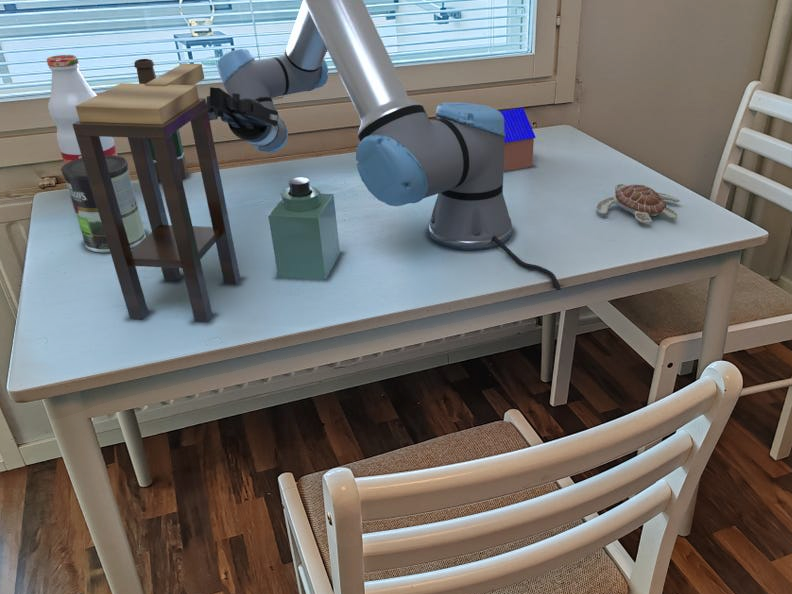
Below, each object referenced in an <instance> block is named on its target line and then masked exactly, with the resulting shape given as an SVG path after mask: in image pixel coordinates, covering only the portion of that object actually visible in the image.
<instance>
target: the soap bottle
mask: <svg viewBox="0 0 792 594" xmlns="http://www.w3.org/2000/svg"><path fill="white" fill-rule="evenodd" d="M310 192H311V194H310V195H308V196H305V197H293V196H291V195H290V188H289V187H288V188H285V189H282V191H281V192H280V201H279V202H278V203H277V204H276V205H275V206H274V208H273V209H272V210H271V211H270V212H269V214H268V216H267V217H268V222H269V229H270V235H271V242H272V247H273V254H274V260H275V267H276V271H277V278H278V279H297V280H298V279H299V280H320V281H326V280H327V278H328V277H329V274H331V271H332V269H333V267H334V265H335V263H336V262H337V260H338V258H339V256H340V255H341V251H340V250H341V249H340V241H339V232H338V223H337V214H336V204H335V195H334V193H321V190H320V189H319V188H318V187H315V186H312V185H310Z"/></svg>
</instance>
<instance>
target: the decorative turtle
mask: <svg viewBox="0 0 792 594" xmlns="http://www.w3.org/2000/svg"><path fill="white" fill-rule="evenodd" d="M614 188H615V189H614V193H615V195H614V196H611V197H608V198H605V199H603V200H601V201H600V202H598V203H597V205H596V207H595V208H596V211H597V212H598V213H600V214H601V215H607V214H608V212H609V211H608V210H609V208H610V207H611V206H612V205H614V204H616V205H617V206H618V207H619V208H621V209H623V210H624V211H626V212H628V213H629V214H631V215H634V218H635V220H637V222H640V223H642V224H651V223H652V222H653V221H652V218H651V217H656V216H657V215H659V214H663V215H666V217H669V218H670V219H673V220H676V219H678V217H679V216H678V214H677V212H675V210H673V209H671V208H670V207H668V206H667V202H666V201H671V202H673V203H679V202H681V199H679V198H677V197H675V196H672V195H669V194H666V193H663V192H657V191H656V190H654V189H653V188H651V187H648V186H646V185H644V184H630V185H629V184H628V185H626V184H623V183H619V184H616V185H615V187H614Z"/></svg>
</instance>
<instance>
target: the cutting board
mask: <svg viewBox="0 0 792 594" xmlns="http://www.w3.org/2000/svg"><path fill="white" fill-rule="evenodd" d="M203 69H204V68H203V64H202V63H181V64H179V65H178V66H176V67H174V68H172V69H170V70H168V71H167V72H164V73H163V74H161V75H159V76H156V78H155V79H153V80H152V81H150V82H148V83H146V84H139V83H130V82H129V83H127V82H120V83H118V84H116V85H114V86H112V87H110V88H108V89H106V90H105V91H103V92H100V93H99V94H96V95H97V96H95V97H93V98H91V99H89V100H87V101H85V102H83V103H81V104H79V105H77V106H76V110H77V113H78V117H79V120H80V122H101V123H131V124H161V125H162V124H164V123H165V122H167V121H168V120H170V119H171V118H173V117H174V116H176V115H177V114H179V113H180V112H182V111H183V110H185V109H186V108H188V107H189V106H191V105H192V104H194V103H195V102H197V101H198V100H199V98H200V97H199V92H198V87H197V84H199V83H200V82H201V81H203V80H204V79H205V74H204V70H203Z"/></svg>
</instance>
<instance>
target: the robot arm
mask: <svg viewBox="0 0 792 594" xmlns="http://www.w3.org/2000/svg"><path fill="white" fill-rule="evenodd" d="M368 9H369V8H368V7H367V5H366V3H365V1H364V0H302V2H301V5H300V9H299V10H298V13H297V16H296V19H295V22H294V25H293V28H292V31H291V34H290V37H289V40H288V43H287V45H286V47H285V51H284V53H283V55H279V56H274V57H267V58H261V59H255V56H253V54H252V52H251V50H249V49H246V48H245V49H243V48H238V49H234V50H231V51H229V52H226V53H224V54H223V55H222V56H220V57H219V59H218V60H217V61H216V68H217V71H218V74H219V77H220V80H221V83H222V86H223V87H224V89H222V88H221V87H213V86H212V87H211V86H210V87H209V95H208V96H206V105H207V110H208V115H209V120H210V122H211V121H214V120H215V121H218V119H219V118H220V120H221V121H222V122H224V123H226V124H227V125H228V127H229V130H230V131H231V132H232V133H233V135H234V136H236V137H237V138H238V139H240V140H243V142H246V143H248V144H249V145H251V146H253V148H254V149H257V150H258V151H260V152H266V153H275V152H278V151H280V150H281V149H283V148H284V147H285V145H286V144H287V142H288V138H289V132H288V128H287V125H286V124H285V121H283V120H282V119H281V117H280V116H279V115H280V114H279V111H278V110H277V108H276V107H275V104H274V102H273V98H279V97H283V96H288V95H292V94H298V93H304V92H311V91H314V90H315V89H319V88H322V87H324V86H325V85H326V84H327V82H328V79H329V75H328V73H329V68H328V64H327V61H326V59H325V57H326V55H327V52H328V55H329V56H330V59H331V61H332V63H333V65H334V67H335V69H336V71H337V73H338V75H339V78H340V80H341V82H342V84H343V86H344V88H345V91H346V92H347V95H348V97H349V99H350V102H351V103H352V105H353V108H354V109H355V111H356V114H357V115H358V118H359V120H360V126H359V129H358V132H357V137H358V140H359V143H358V145H357V148H356V151H355V160H356V161H357V162H358V163H356V168H357V173H358V174H359V177H360V179H361V181H362V183H363V185H364V186H365V188H366V189H367V190H368V192H369V193H370V194H371V195H372V196H373V197H374V198H376V199H377V200H378V201H379V202H381V203H384V204H386V205H388V206H391V207H401V206H404V205H405V206H406V205H408V204H417V203H420V201H423V200H424V199H426V198H429V197H432V196H435V195H437V197H436V200H435V203H434V205H433V210H432V213H431V216H430V218H429V224H428V228H429V230H428V232H429V237H430V238H431V239H432V240H433V241H434V242H435V243H437V244H439V245H441V246H444V247H445V248H446V247H447V248H451V249H455V250H463V251H478V250H480V251H481V250H486V249H492V248H496V247H499V248H501V249H502V250H503V251H504V252H505V253H506V254H507V255H508V256H509V257H510V259H512V260H513V261H514V262H515V263H516V264H518V265H519V266H521V267H523V268H524V269H529V270H534V271H538V272H540V273H542V274H544V275H547V276H548V277H549V278H550V280H551V281H552V284H553V287H554V288H555V290H556V291H561V285H560V283H559V281H558V279H557V277H556V275H555V274H554V273H553V272H552V271H551V270H550V269H547V268H545V267H543V266H541V265H537V264H533V263H527V262H526V261H523V260H521V259H520V258H519V257H518V256H517V255H516V254H515V253H514V252H513V251H512V250H511V249H510V248H509V247H508V246H507V245H505V243H506V242H507V241H509V239H510V238H511V237H512V230H513V229H512V228H513V224H512V220H511V218H510V214H509V211H508V206H507V203H506V200H505V196H504V172H503V170H504V144H505V133H504V118H503V115H502V114H501V112H500V111H501V110H498V109H496V108H494V107H491V106H488V105H483V104H478V103H472V102H471V103H470V102H460V101H459V102H458V101H456V102H455V101H454V102H453V101H452V102H450V101H449V102H443V103H440V104H438V106H437V107H436V111H435V113H434V115H435V117H436V118H434V119H430V118H429V116H428V114H427V112H426V110H425V108H424V106H423V104H422V103H420V102H419V101H418V102H417V101H415V100H413V99H411V98H409V96H408V93H407V91H406V89H405V87H404V85H403V83H402V81H401V78H400V76H399V74H398V72H397V69H396V68H395V65H394V62H393V60H392V59H391V57H390V55H389V53H388V51H387V48H386V46H385V43H384V42H383V40H382V37H381V35H380V33H379V32H378V31H379V30H378V29H377V27H376V25H375V22H374V20H373V18H372V16H371V14H370V11H369V10H368Z"/></svg>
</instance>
